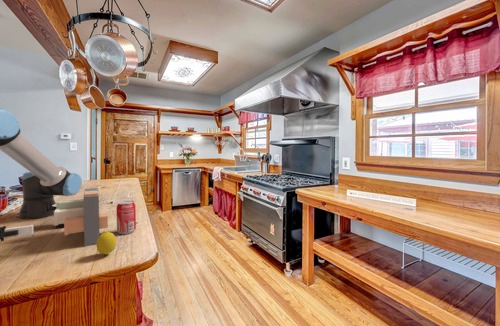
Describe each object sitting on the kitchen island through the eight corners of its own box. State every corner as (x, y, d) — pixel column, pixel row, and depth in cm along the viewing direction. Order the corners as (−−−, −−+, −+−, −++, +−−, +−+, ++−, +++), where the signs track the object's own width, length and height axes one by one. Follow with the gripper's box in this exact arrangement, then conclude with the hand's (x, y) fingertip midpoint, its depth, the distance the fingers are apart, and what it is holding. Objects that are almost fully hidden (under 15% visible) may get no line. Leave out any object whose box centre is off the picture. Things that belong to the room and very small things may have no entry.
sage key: (58, 212, 92) (57, 200, 92) (96, 208, 99) (95, 197, 99) (56, 215, 88) (56, 202, 88) (96, 211, 95) (96, 199, 95)
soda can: (139, 230, 99) (139, 201, 98) (125, 236, 92) (125, 204, 91) (127, 228, 101) (126, 199, 100) (112, 233, 94) (112, 203, 93)
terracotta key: (65, 231, 82) (65, 217, 82) (107, 225, 90) (106, 212, 90) (64, 235, 79) (64, 221, 78) (107, 228, 86) (107, 215, 86)
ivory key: (55, 222, 86) (55, 209, 86) (96, 217, 93) (96, 205, 93) (54, 225, 82) (53, 212, 82) (96, 220, 90) (96, 207, 89)
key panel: (86, 229, 98) (85, 187, 97) (98, 227, 101) (97, 186, 100) (84, 246, 82) (83, 194, 81) (99, 243, 84) (98, 193, 83)
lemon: (102, 251, 78) (102, 228, 77) (119, 251, 78) (119, 228, 78) (92, 259, 72) (92, 234, 72) (111, 258, 73) (110, 234, 72)
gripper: (-69, 249, 68) (37, 234, 82) (-98, 268, 58) (29, 247, 71) (-71, 225, 68) (36, 213, 82) (-100, 240, 57) (28, 223, 71)
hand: (32, 229), depth 77 cm, fingers closed
